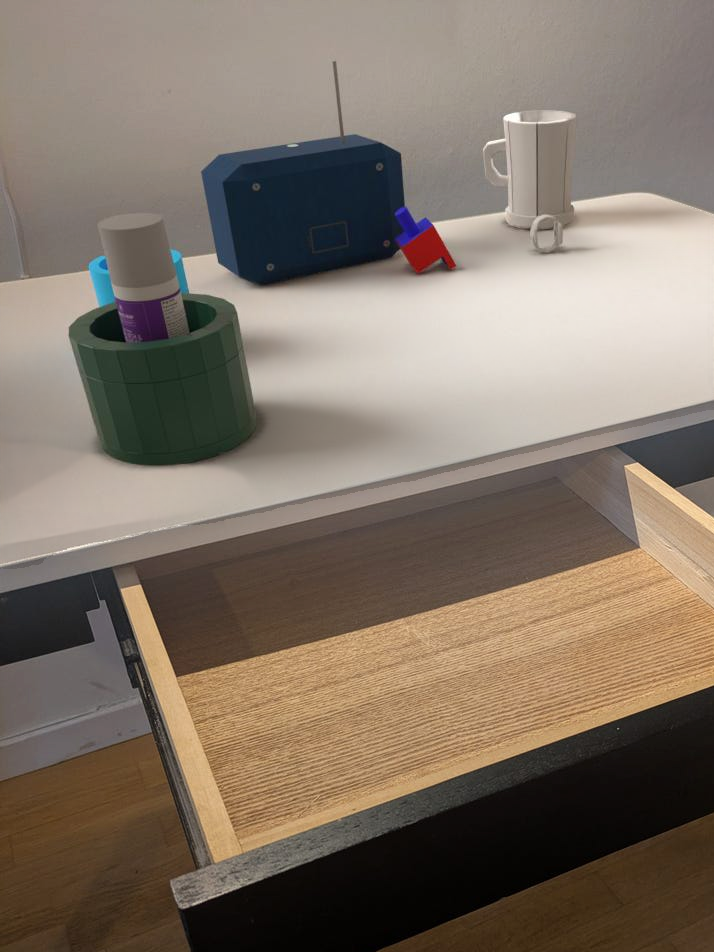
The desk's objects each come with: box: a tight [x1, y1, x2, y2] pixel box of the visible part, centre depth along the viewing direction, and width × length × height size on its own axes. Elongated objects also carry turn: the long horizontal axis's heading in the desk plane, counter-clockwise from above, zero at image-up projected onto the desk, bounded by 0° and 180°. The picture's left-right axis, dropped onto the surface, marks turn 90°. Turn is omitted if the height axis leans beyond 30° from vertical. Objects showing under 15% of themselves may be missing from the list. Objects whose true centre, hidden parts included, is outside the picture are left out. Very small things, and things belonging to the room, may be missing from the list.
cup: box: [482, 109, 577, 231], centre depth 121 cm, size 10×9×12 cm
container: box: [97, 212, 189, 343], centre depth 73 cm, size 5×5×15 cm
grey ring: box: [529, 215, 564, 254], centre depth 113 cm, size 4×2×4 cm, turn 103°
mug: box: [88, 248, 190, 308], centre depth 92 cm, size 12×8×8 cm
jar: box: [68, 292, 258, 467], centre depth 76 cm, size 12×12×9 cm
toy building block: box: [395, 206, 457, 275], centre depth 109 cm, size 4×4×8 cm
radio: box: [200, 60, 406, 286], centre depth 107 cm, size 21×9×20 cm, turn 123°
